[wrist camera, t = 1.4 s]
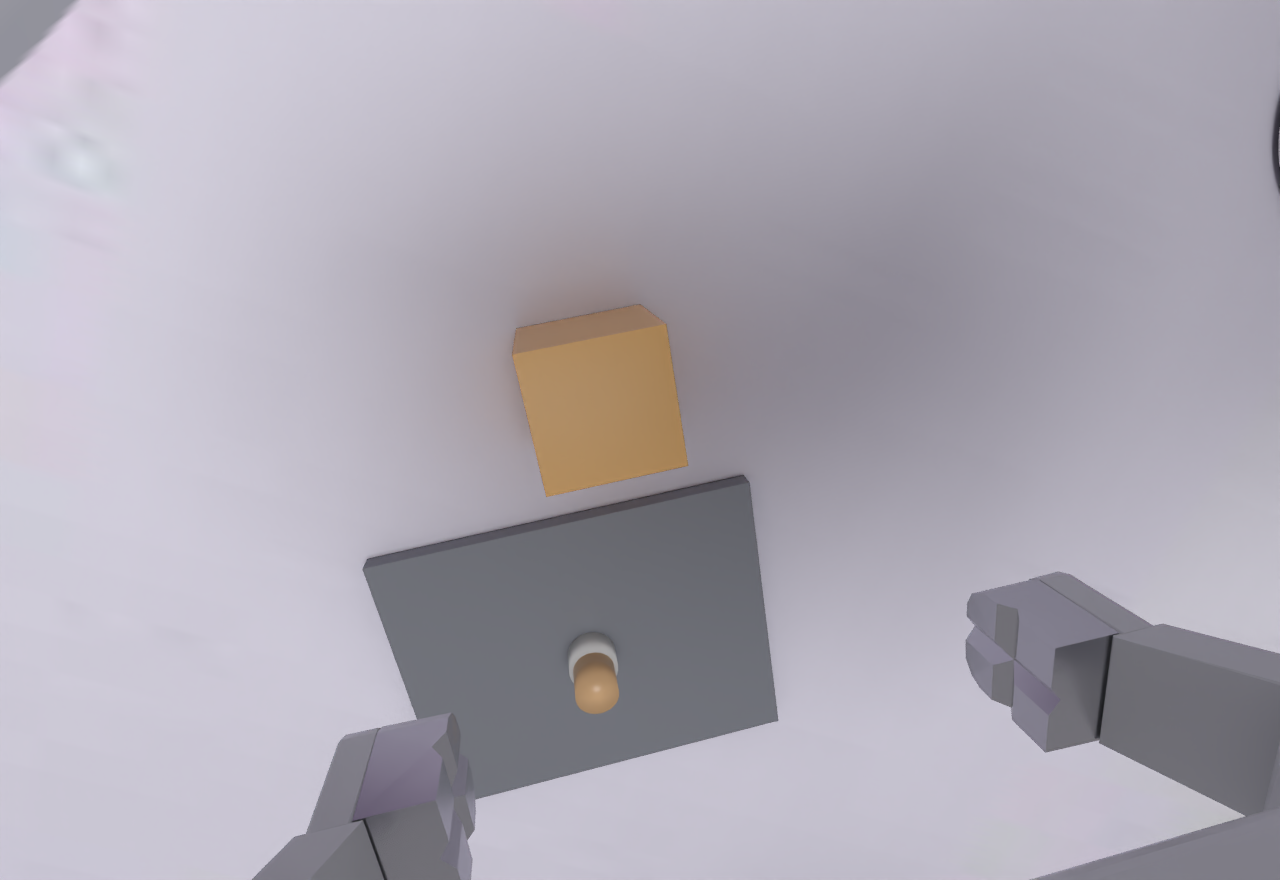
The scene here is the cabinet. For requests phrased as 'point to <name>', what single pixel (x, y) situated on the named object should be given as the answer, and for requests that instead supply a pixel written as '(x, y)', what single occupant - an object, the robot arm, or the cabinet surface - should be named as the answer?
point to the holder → (585, 633)
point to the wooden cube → (600, 398)
